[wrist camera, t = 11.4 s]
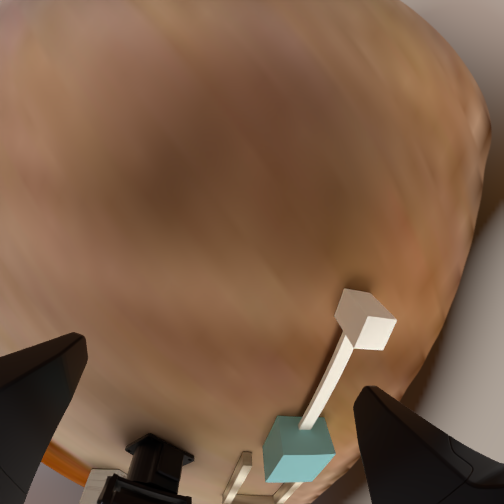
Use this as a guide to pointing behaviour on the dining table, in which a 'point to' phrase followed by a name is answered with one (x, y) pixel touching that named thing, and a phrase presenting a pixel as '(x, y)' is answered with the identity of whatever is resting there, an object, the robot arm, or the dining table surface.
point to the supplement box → (97, 484)
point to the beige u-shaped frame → (231, 500)
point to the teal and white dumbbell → (325, 394)
